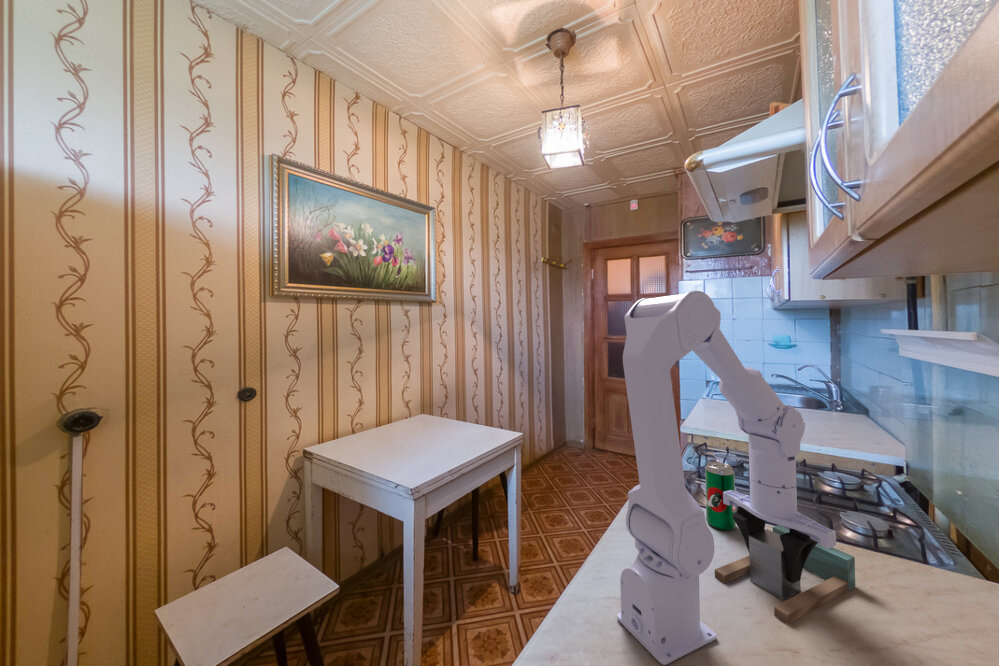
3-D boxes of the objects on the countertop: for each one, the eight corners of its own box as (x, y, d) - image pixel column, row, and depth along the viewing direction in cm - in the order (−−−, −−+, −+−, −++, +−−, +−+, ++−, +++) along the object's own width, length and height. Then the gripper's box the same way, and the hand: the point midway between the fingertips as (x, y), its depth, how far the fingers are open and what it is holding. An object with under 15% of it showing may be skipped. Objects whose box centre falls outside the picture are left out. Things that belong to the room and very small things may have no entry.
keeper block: (782, 600, 52) (781, 551, 52) (750, 580, 56) (748, 535, 56) (800, 590, 53) (799, 543, 53) (768, 572, 57) (766, 529, 58)
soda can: (740, 533, 69) (739, 470, 69) (711, 530, 70) (710, 469, 70) (729, 519, 74) (727, 461, 74) (702, 517, 75) (701, 460, 75)
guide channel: (787, 624, 47) (786, 590, 47) (714, 577, 57) (714, 548, 57) (855, 586, 54) (854, 556, 54) (780, 550, 63) (779, 524, 63)
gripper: (847, 494, 50) (850, 592, 49) (741, 461, 63) (743, 538, 63) (818, 504, 47) (821, 609, 47) (713, 468, 60) (715, 549, 60)
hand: (774, 569), depth 55 cm, fingers closed on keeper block, 4 cm apart
